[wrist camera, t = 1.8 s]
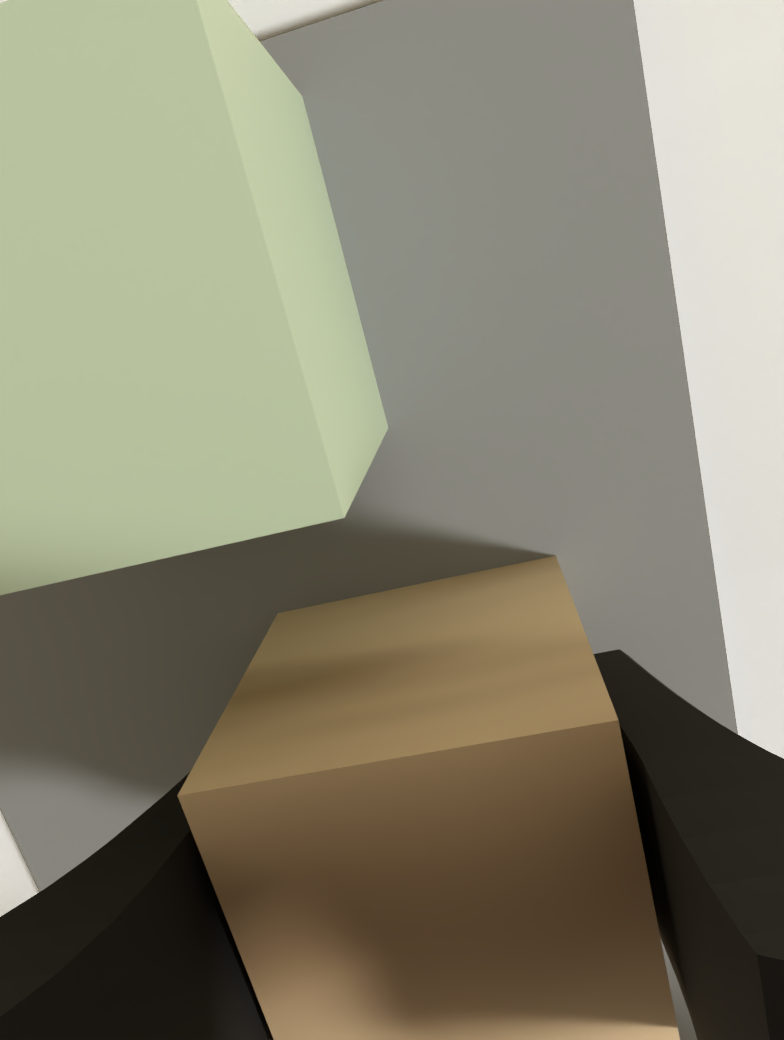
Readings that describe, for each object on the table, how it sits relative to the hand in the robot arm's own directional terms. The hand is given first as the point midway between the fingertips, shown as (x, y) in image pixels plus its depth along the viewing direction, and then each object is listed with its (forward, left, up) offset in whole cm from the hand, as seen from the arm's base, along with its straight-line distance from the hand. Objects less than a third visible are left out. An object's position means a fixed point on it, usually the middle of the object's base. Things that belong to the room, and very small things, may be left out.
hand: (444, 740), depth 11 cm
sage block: (+7, +2, -1) cm, 7 cm away
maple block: (0, 0, -1) cm, 1 cm away
